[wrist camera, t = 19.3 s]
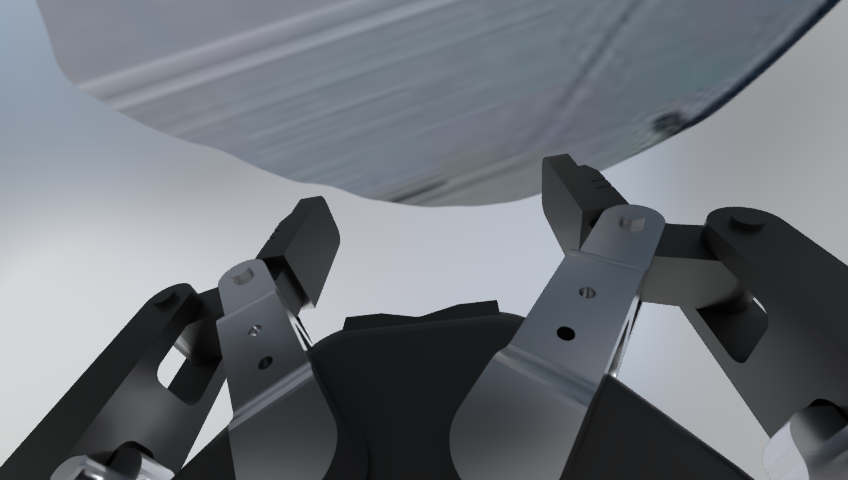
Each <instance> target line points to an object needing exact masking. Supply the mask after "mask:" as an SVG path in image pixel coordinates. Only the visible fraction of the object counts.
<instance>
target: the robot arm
mask: <svg viewBox="0 0 848 480" xmlns="http://www.w3.org/2000/svg"><path fill="white" fill-rule="evenodd" d="M542 205H543V211H544V214H545V216H546V218H547V220H548V222H549V224H550V226H551V228H552V230H553V232H554V234H555V236H556V238H557V240H558V242H559V244H560V246H561V248H562V250H563V252H564V254H565V257H564V259H563V261H562V262H561V264H560V265H559V267H558V268H557V270H556V272H555V273H554V275H553V276H552V278H551V279H550V281H549V283H548V284H547V286H546V287H545V289H544V290H543V292H542V294H541V295H540V297H539V298H538V300H537V301H536V303H535V304H534V306H533V307H532V309H531V311H530V312H529V314H528V315H527V317H526V318H525V317H522V316H519V315H515V314H510V313H504V312H499V308H498V303H497V300H493V301H485V302H476V303H467V304H458V305H455V306H452V307H449V308H446V309H443V310H440V311H436V312H434V313H430V314H427V315H424V316H420V317H411V316H401V315H391V314H382V313H380V314H371V315H363V316H354V317H346V319H345V323H344V326H343V330H340V331H338V332H335V333H333V334H331V335H329V336H327V337H325V338H323V339H322V340H320V341H319V342H317V343H316V344H314V343H313V341H312V339H311V337H310V335H309V333H308V332H307V329H306V327H305V326H304V324H303V322H302V320H301V318H300V317H299V315H298V314H299V312H300V310H304V309H312V308H315V307H316V304H317V302H318V299H319V296H320V294H321V291H322V289H323V286H324V284H325V281H326V278H327V276H328V273H329V271H330V268H331V266H332V263H333V260H334V258H335V255H336V253H337V250H338V248H339V245H340V235H339V231H338V228H337V226H336V224H335V221H334V220H333V217H332V214H331V212H330V210H329V207H328V205H327V203H326V201H325V199H324V198H323V197H322V196H316V197H311V198H305V199H301V200H300V201H299V203H298V204H297V205H296V207H295V208H294V210H293V212H292V213H291V214H290V215H288V216H287V217H286V218H285V219H284V220H282V221H281V222H280V223H279V225H278V226H277V228H276V229H275V232H274V233H273V234H272V235H271V237H270V240H268V241H267V242H266V244H265V245H264V247H263V248H262V249H261V251H260V252H259V254H258V255H257V257H256V259H253V260H248V261H245V262H242V263H240V264H238V265H236V266H234V267H232V268H231V269H230V270H228V271H227V272H226V273H225V274H224V275H223V276H222V277H221V279H220V280H219V283H218V287H217V288H214V289H211V290H208V291H205V292H202V293H199V294H198V293H197V292H196V291H195V290H194V289H193V288H192V286H191V285H190V284H187V283H182V284H176V285H173V286H171V287H168V288H166V289H164V290H162V291H161V292H159V293H157V294H156V295H154V296H153V297H152V298H151V299H149V300H148V301H147V302H146V303H145V304H144V306H143V307H142V308H141V309H140V310H139V311H138V312H137V314H136V315H135V316H134V317H133V318H132V319H131V320H130V321H129V323H128V324H127V325H126V326H125V327H124V328H123V329H122V330H121V331H120V333H119V334H118V335H117V336H116V337H115V338H114V339H113V341H112V342H111V343H110V344H109V345H108V346H107V347H106V349H105V350H104V351H103V352H102V353H101V354H100V355H99V356H98V357H97V359H96V360H95V361H94V362H93V363H92V364H91V365H90V367H89V368H88V369H87V370H86V371H85V372H84V373H83V374H82V376H81V377H80V378H79V379H78V380H77V381H76V382H75V383H74V385H73V386H72V387H71V388H70V389H69V391H67V393H66V394H65V395H64V396H63V397H62V398H61V399H60V401H59V402H58V403H57V404H56V405H55V406H54V407H53V408H52V410H51V411H50V412H49V413H48V414H47V415H46V416H45V417H44V418H43V420H42V421H41V422H40V423H39V424H38V425H37V427H36V428H35V429H34V430H33V431H32V432H31V433H30V434H29V435H28V437H27V438H26V439H25V440H24V441H23V442H22V443H21V445H20V446H19V447H18V448H17V449H16V450H15V452H13V454H12V455H11V456H10V457H9V458H8V459H7V460H6V461H5V463H4V464H3V465H2V466H1V467H0V480H754V479H753V478H752V477H750V476H749V475H748V474H747V473H745V472H744V471H743V470H742V469H740V468H739V467H738V466H736V465H735V464H734V463H732V462H731V461H729V460H728V459H727V458H725V457H724V456H722V455H721V454H720V453H718V452H717V451H716V450H714V449H713V448H711V447H710V446H709V445H707V444H706V443H704V442H703V441H702V440H700V439H699V438H698V437H696V436H695V435H693V434H692V433H691V432H689V431H688V430H687V429H685V428H684V427H682V426H681V425H680V424H678V423H677V422H675V421H674V420H673V419H671V418H670V417H668V416H667V415H666V414H664V413H663V412H662V411H660V410H659V409H658V408H656V407H655V406H653V405H652V404H651V403H649V402H648V401H646V400H645V399H643V398H642V397H641V396H640V395H638V394H637V393H635V392H634V391H633V390H631V389H630V388H628V387H627V386H626V385H624V384H623V383H622V382H620V381H619V380H617V375H618V373H619V370H620V367H621V363H622V360H623V357H624V354H625V351H626V348H627V346H628V343H629V340H630V337H631V335H632V332H633V329H634V326H635V324H636V321H637V318H638V316H639V313H640V310H641V307H642V305H643V302H649V303H657V304H665V305H673V306H679V307H680V308H681V310H682V311H683V313H684V314H685V316H686V317H687V319H688V320H689V322H690V323H691V324H692V326H693V327H694V329H695V330H696V332H697V333H698V335H699V336H700V337H701V339H702V340H703V342H704V343H705V345H706V346H707V348H708V349H709V350H710V352H711V353H712V355H713V356H714V358H715V359H716V361H717V362H718V363H719V365H720V366H721V368H722V369H723V370H724V372H725V374H726V375H727V377H728V378H729V379H730V380H731V382H732V384H733V385H734V387H735V388H736V390H737V391H738V393H739V394H740V395H741V397H742V398H743V400H744V401H745V403H746V404H747V406H748V407H749V408H750V410H751V411H752V413H753V414H754V416H755V417H756V419H757V420H758V421H759V423H760V424H761V426H762V427H763V429H764V430H765V432H766V433H767V435H768V436H769V437H770V440H769V441H768V442H767V443H766V444H765V447H764V449H763V454H762V457H763V463H764V466H765V470H766V472H767V474H768V476H769V478H770V480H848V266H847V265H846V264H844V263H843V262H841V261H840V260H838V259H837V258H836V257H834V256H833V255H832V254H830V253H829V252H827V251H826V250H825V249H823V248H822V247H820V246H819V245H818V244H816V243H815V242H813V241H812V240H810V239H809V238H808V237H806V236H805V235H804V234H802V233H801V232H799V231H798V230H797V229H795V228H793V227H792V226H791V225H790V224H788V223H787V222H785V221H784V220H782V219H781V218H779V217H777V216H775V215H773V214H771V213H768V212H765V211H761V210H757V209H753V208H745V207H725V208H720V209H716V210H714V211H712V212H711V213H709V215H708V216H707V219H706V222H705V224H704V225H680V224H668V223H665V219H664V217H663V216H662V215H661V214H660V213H659V212H657V211H655V210H653V209H651V208H648V207H645V206H639V205H630V204H629V203H628V202H627V201H626V200H625V199H624V198H623V197H622V196H621V195H620V193H619V192H617V190H616V189H615V188H614V187H612V186H611V184H610V183H609V182H608V181H607V180H605V177H604V176H603V175H602V174H601V173H600V172H599V171H598V170H596V169H593V168H591V167H589V166H586V165H583V166H578V165H577V164H576V163H575V162H574V161H573V159H572V158H571V157H570V156H569V155H568V154H562V155H556V156H550V157H545V158H544V159H543V163H542ZM754 297H755V298H756V299H757V300H758V301H759V302H760V303H761V304H762V306H763V307H764V309H765V311H766V313H767V314H766V313H765V312H764V311H763V310H762V309H761V308H760V306H759V305H758V304H757V303H756V302H755V301H754V300H753V298H754ZM172 346H174V347H175V348H176V349H177V350H179V351H180V352H181V353H182V354H183V355H184V356H185V357H186V360H185V362H184V363H183V364H182V366H181V368H180V369H179V371H178V372H177V374H176V375H175V377H174V379H173V380H172V382H171V384H170V385H169V387H168V388H165V387H164V386H163V385H162V384H161V383H160V382H159V381H158V377H157V371H158V367H159V365H160V363H161V362H162V360H163V359H164V357H165V356H166V355H167V353H168V352H169V350H170V349H171V347H172ZM226 377H227V383H228V388H229V393H230V398H231V404H232V409H233V419H232V420H231V421H230V423H229V425H227V426H226V427H225V428H224V429H223V430H222V431H221V432H220V433H219V434H218V435H217V436H216V437H215V438H214V439H213V440H212V441H211V442H210V443H208V445H206V446H205V447H204V448H203V449H202V450H201V451H200V452H199V453H198V454H197V455H196V456H195V457H194V458H193V459H192V460H191V461H189V462H188V463H187V464H186V465H185V466H184V467H183V468H182V466H183V464H184V462H185V460H186V458H187V456H188V454H189V452H190V450H191V448H192V446H193V444H194V442H195V440H196V438H197V436H198V434H199V432H200V430H201V428H202V425H203V424H204V422H205V420H206V418H207V415H208V414H209V412H210V410H211V408H212V406H213V404H214V402H215V400H216V398H217V396H218V394H219V392H220V389H221V387H222V385H223V383H224V381H225V379H226ZM181 468H182V469H181Z"/></svg>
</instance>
